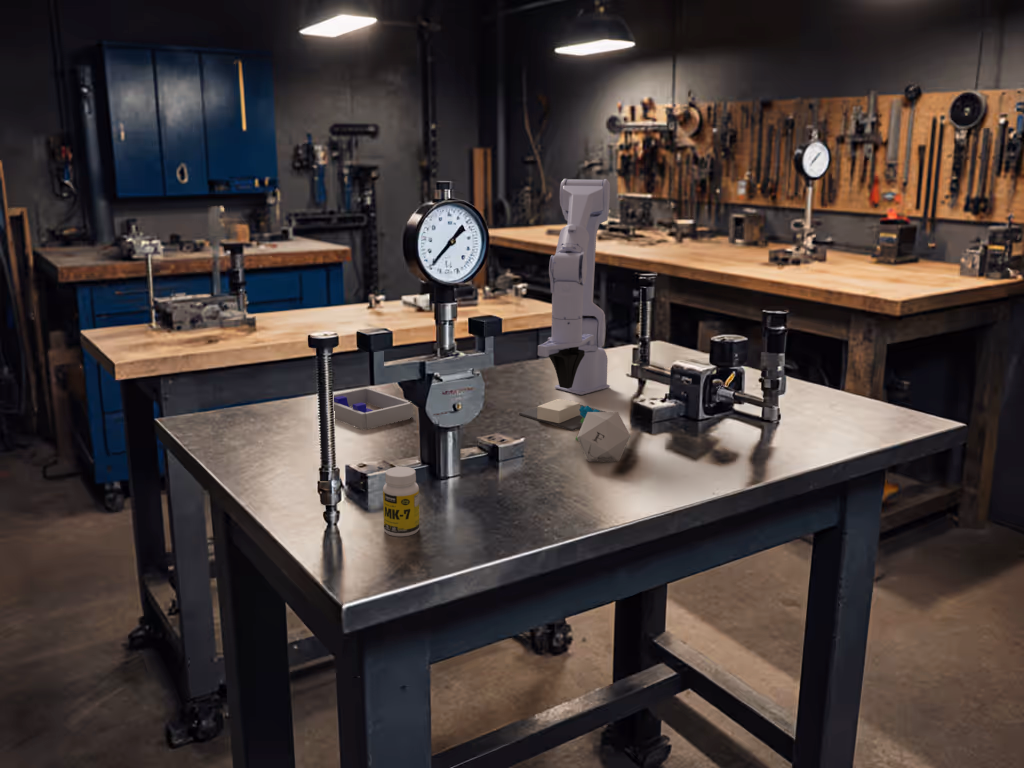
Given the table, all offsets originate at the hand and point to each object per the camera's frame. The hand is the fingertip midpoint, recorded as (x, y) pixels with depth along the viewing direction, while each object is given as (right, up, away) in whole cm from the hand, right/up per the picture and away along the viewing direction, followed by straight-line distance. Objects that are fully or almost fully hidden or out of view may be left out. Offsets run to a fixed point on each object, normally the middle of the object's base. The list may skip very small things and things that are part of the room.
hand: (565, 387), depth 168 cm
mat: (+1, -6, +2) cm, 6 cm away
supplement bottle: (-25, -19, -50) cm, 59 cm away
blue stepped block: (-40, -6, -1) cm, 41 cm away
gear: (+5, -10, -14) cm, 18 cm away
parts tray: (-39, -5, +2) cm, 39 cm away
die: (+5, -12, -21) cm, 25 cm away
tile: (+1, -4, +2) cm, 4 cm away
